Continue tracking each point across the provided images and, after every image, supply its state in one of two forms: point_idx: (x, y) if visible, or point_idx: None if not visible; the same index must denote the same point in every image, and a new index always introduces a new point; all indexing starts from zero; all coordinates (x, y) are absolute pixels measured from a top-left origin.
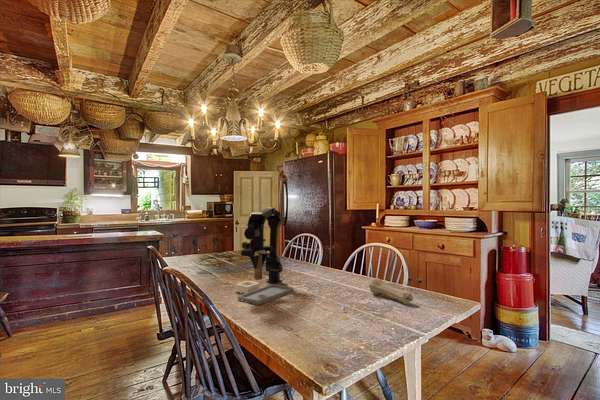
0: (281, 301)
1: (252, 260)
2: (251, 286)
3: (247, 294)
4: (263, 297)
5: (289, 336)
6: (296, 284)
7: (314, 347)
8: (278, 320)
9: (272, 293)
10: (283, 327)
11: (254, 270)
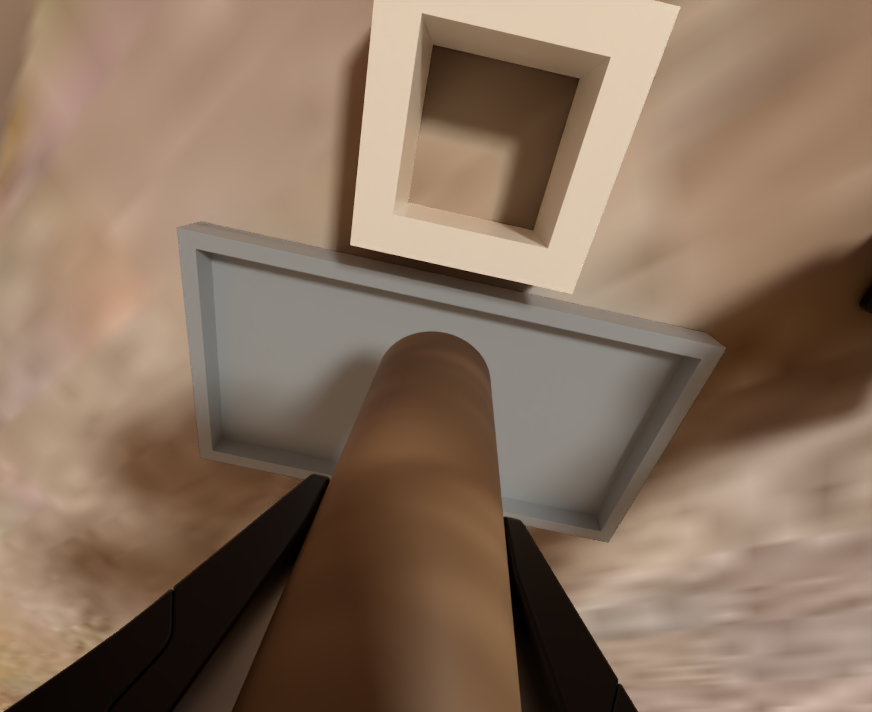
0: None
1: (109, 687)
2: (416, 257)
3: (307, 268)
4: (341, 411)
5: (54, 635)
6: (817, 490)
7: None
8: (125, 579)
9: None
10: (89, 607)
11: (355, 429)
